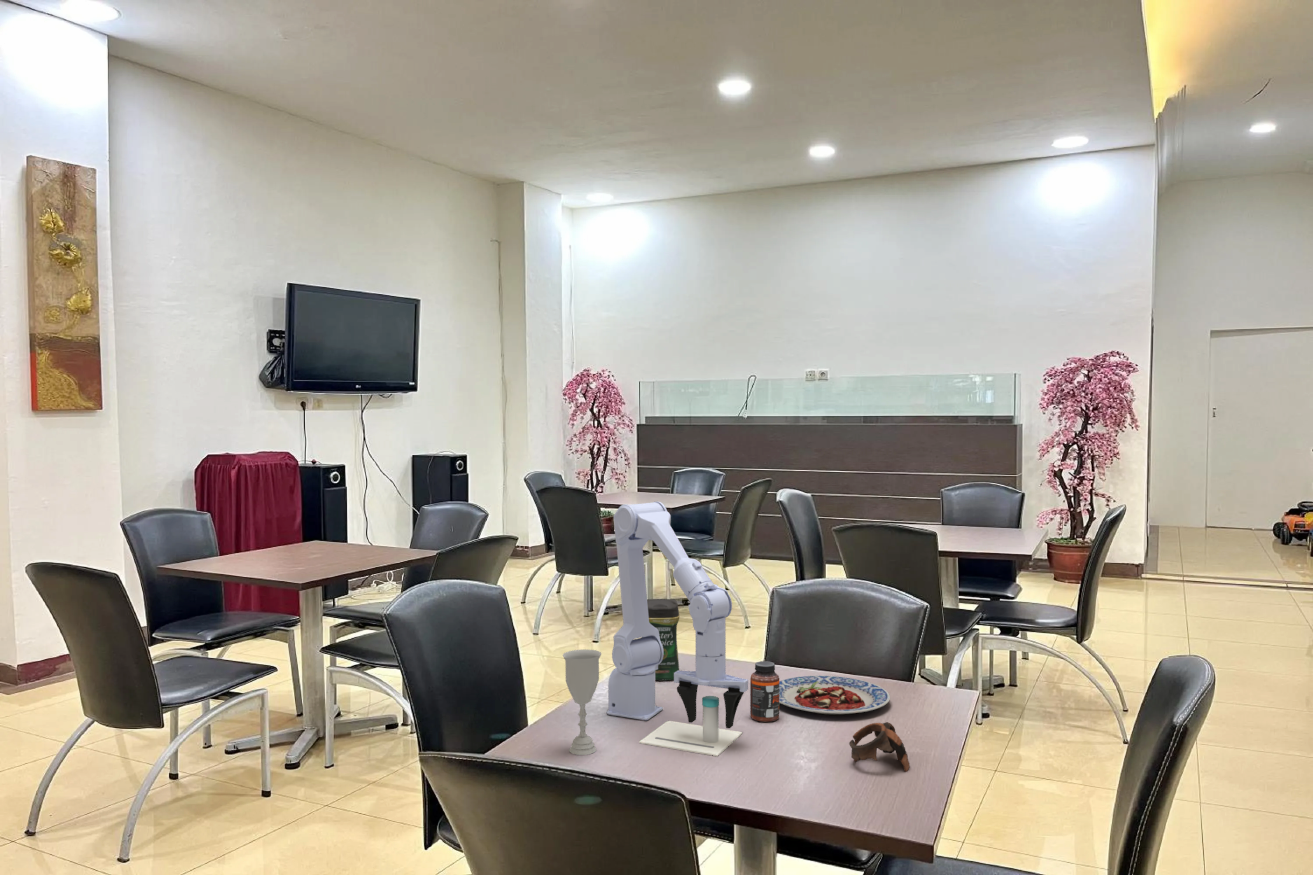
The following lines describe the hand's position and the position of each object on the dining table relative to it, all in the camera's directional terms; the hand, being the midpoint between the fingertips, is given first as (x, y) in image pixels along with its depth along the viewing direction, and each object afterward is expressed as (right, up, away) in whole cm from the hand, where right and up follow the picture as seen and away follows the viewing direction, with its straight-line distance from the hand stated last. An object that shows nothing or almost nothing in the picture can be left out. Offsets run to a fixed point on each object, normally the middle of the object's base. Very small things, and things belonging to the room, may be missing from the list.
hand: (710, 723), depth 178 cm
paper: (-4, -3, +2) cm, 5 cm away
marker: (0, -3, 0) cm, 3 cm away
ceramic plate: (+27, -3, +24) cm, 36 cm away
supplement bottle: (+12, -3, +13) cm, 18 cm away
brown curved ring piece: (+30, -4, -11) cm, 32 cm away
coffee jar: (-10, -2, +42) cm, 44 cm away
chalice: (-24, -4, -4) cm, 25 cm away
